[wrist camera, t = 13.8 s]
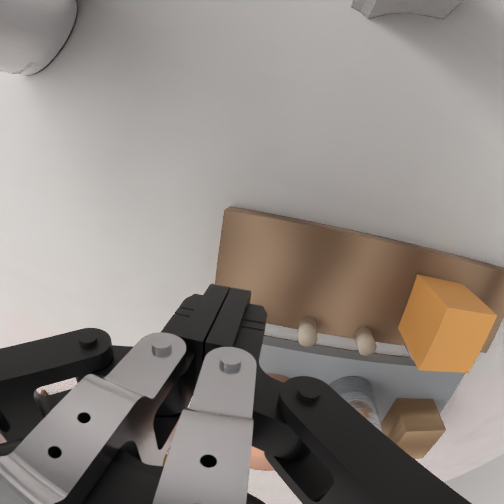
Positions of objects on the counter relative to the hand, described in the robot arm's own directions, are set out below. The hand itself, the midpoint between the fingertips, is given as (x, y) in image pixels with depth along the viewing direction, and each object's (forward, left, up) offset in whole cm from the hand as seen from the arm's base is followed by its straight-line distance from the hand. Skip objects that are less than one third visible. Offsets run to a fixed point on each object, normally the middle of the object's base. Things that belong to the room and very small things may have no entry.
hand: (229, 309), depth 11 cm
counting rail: (+1, +9, -9) cm, 13 cm away
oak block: (+12, +16, -8) cm, 22 cm away
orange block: (+1, +12, -7) cm, 15 cm away
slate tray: (+11, +9, -9) cm, 17 cm away
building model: (-21, +6, -10) cm, 24 cm away
